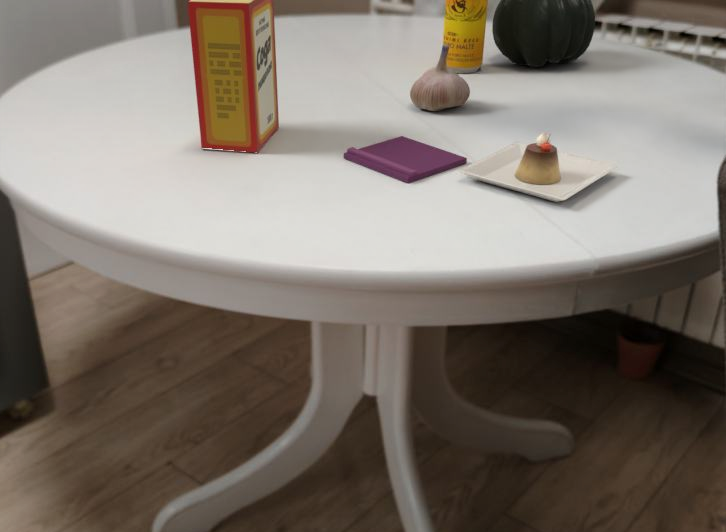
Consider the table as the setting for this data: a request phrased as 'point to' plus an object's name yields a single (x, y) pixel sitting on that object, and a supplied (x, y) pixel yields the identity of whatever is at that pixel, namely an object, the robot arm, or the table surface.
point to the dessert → (538, 170)
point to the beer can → (465, 34)
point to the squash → (543, 30)
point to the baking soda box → (234, 72)
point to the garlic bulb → (440, 87)
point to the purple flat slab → (404, 158)
